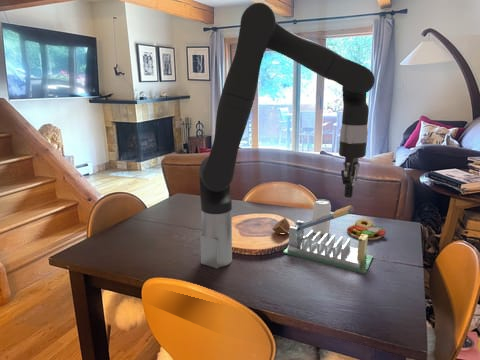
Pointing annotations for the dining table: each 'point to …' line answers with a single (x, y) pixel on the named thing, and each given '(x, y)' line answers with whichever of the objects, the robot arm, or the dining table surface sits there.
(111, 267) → the dining table surface
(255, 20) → the robot arm
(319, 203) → the can
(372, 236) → the toy food set
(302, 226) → the grey and tan bar
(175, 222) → the dining table surface
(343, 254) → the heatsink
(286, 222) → the fruit slice
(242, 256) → the dining table surface
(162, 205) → the dining table surface
